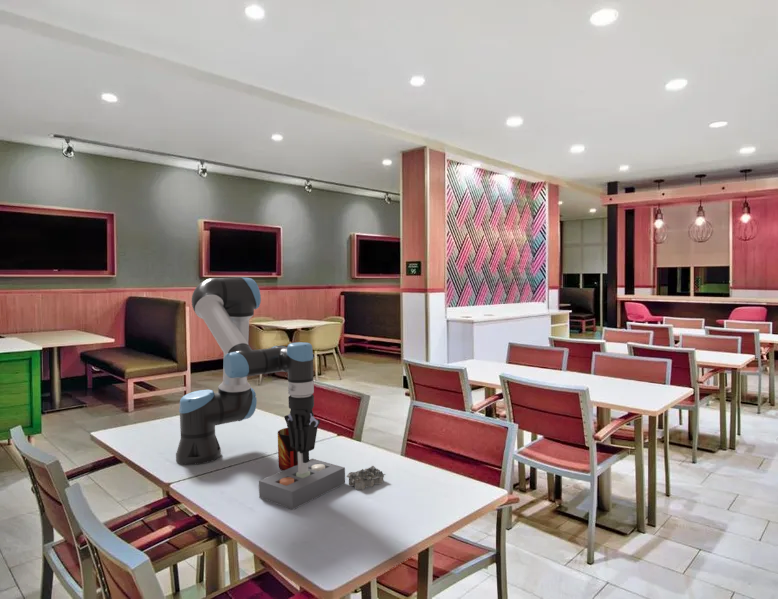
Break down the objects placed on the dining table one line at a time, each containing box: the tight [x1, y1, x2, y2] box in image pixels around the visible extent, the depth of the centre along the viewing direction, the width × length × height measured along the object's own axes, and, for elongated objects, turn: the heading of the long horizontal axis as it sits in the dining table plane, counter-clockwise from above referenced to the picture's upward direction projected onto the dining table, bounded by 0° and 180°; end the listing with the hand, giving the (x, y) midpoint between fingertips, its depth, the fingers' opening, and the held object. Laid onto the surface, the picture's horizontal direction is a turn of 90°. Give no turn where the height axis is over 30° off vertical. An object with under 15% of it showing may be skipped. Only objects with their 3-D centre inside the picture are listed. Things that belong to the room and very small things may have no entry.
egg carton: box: [346, 465, 386, 490], centre depth 163 cm, size 11×8×4 cm
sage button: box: [296, 471, 310, 478], centre depth 158 cm, size 4×4×3 cm
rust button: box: [280, 477, 294, 486], centre depth 153 cm, size 4×4×3 cm
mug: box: [277, 427, 298, 471], centre depth 176 cm, size 10×14×12 cm
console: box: [258, 458, 346, 511], centre depth 158 cm, size 14×22×5 cm, turn 144°
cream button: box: [311, 464, 325, 471], centre depth 163 cm, size 4×4×3 cm
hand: (303, 472), depth 158 cm, fingers closed
